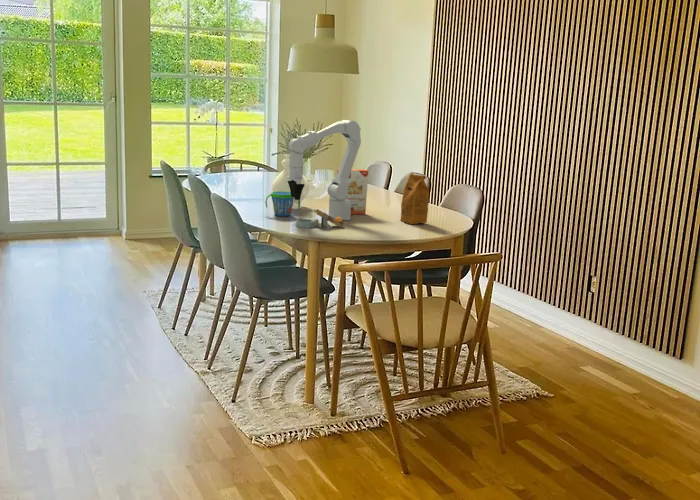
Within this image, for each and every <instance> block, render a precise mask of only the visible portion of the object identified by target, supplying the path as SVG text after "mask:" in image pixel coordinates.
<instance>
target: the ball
mask: <svg viewBox="0 0 700 500" xmlns="http://www.w3.org/2000/svg"><path fill="white" fill-rule="evenodd" d="M335 220H336V221H338V222H339V223H341V222H342V221H343V220H342V218H341V217H336V219H335Z"/></svg>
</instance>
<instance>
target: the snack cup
mask: <svg viewBox="0 0 700 500" xmlns="http://www.w3.org/2000/svg"><path fill="white" fill-rule="evenodd" d="M270 197H271V200H272V205H273V206H272V207H273V214H274V215H275V216H277V217H288V216H290V215H291V216H292V210H293V209H292V206H293V199H294V197H291V192H286V191H277V192H273V191H272V192H270V194H268V195H267V196H266V198H265V202H264V203H265V207H266V209H268V198H270ZM300 205H301V203H300V200H298V208H299V207H300Z"/></svg>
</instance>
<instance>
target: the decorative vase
mask: <svg viewBox="0 0 700 500" xmlns="http://www.w3.org/2000/svg"><path fill="white" fill-rule="evenodd" d="M283 157H285V158H283V159H282V161H281V163H280V164H281V166H282V167H283V168H284V169H283V170H282V171H281V172H279V174H278V175H276V177H275V179H273V182H272V185H271V191H272V192H277V191H286V192H290V187H289V184H288V182H287V181H291V179H287V177H289V172H290V153H285V154H284V153H283ZM301 184H305V186H304V187H303V190H302V193H301V197H300V207H299V208H300V209H303V208H304V205H303V204H301V203H302V202H303V200H304V199H306V197H307V195H308V194H309V191H310V184H309V182H308V180H307V179H306V176H305V175H303V180H302V183H301ZM299 208H298V200H295V199H293V206H292V210H297V209H298V210H299Z"/></svg>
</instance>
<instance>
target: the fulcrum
mask: <svg viewBox="0 0 700 500" xmlns="http://www.w3.org/2000/svg"><path fill="white" fill-rule="evenodd" d="M324 213H325V214H327V213H326V212H324ZM313 220H314V226H315V227H314V228H319V229H320V228H331V229H332V226H331V225H330V223H328V222H329V221H328V216H324V218H322V217H321V221H320V222H319V219H317V218H316V219H313Z"/></svg>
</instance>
